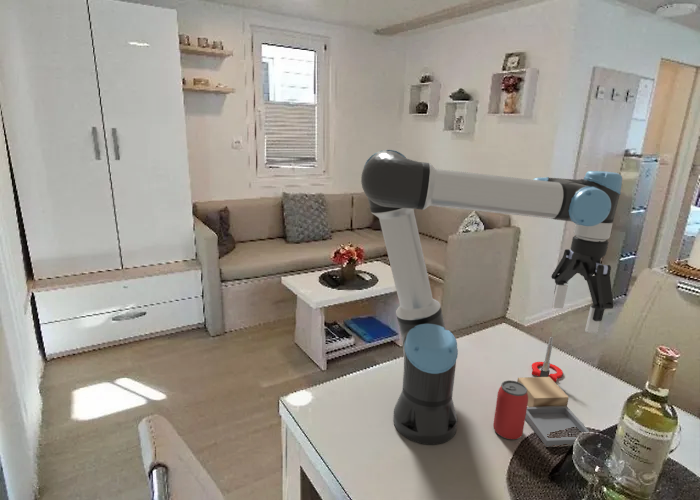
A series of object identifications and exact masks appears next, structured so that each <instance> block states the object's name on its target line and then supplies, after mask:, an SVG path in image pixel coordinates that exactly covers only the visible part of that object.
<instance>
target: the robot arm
mask: <svg viewBox="0 0 700 500" xmlns="http://www.w3.org/2000/svg"><path fill="white" fill-rule="evenodd" d="M360 178H361V181H360V182H361V188H362V190H363V193H364V194H365V196H366V197H367V201H368V204H369V205H368V206H369V209H370V214H372V215H374V216H375V217H377V218H378V219H379V224H380V229H381V232H382V236H383V241H384V244H385V248H386V253H387V257H388V260H389V261H388V262H389V264H390V265H389V266H390V269H391V274H392V278H393V282H394V285H395V290H396V291H395V292H396V293H397V298H398V302H399V306H398V307H397V309H396V310H395V316H396V319H397V323H398V327H399V328H398V329H399V331H400V336H401V343H402V351H403V352H402V353H403V375H402V376H403V377H402V391H401V393H400V395H399V397H398V399H397V401H396V404H395V406H394V408H393V417H392V421H393V424H394V426H395V429H396V430H397V431H398V433H400V434H401V435H402V436H403V437H405V438H406V439H408V440H410V441H412V442H415V443H418V444H421V445H440V444H443V443H447V442H448V441H450V440H451V439H452V438H454V437H455V435H456V432H457V427H458V415H457V412H456V407H455V405H454V400H453V392H454V383H455V376H456V367H457V359H458V354H459V350H458V342H457V338H456V337H455V336H454V334H453V333H452V331H450V330H449V329H446V325H445V324H446V323H445V320H444V317H443V316H444V315H443V311H442V305H441V303H440V301H439V300H437V299H435V298H433V292H432V289H431V283H430V279H429V275H428V274H429V273H428V270H427V266H426V261H425V256H424V251H423V248H422V247H423V246H422V242H421V239H420V233H419V229H418V228H419V227H418V224H417V219H416V216H415V214H416V213H415V210H421V211H425V209H427V208H428V207H430V206H431V207H438V208H439V207H440V208H448V209H458V210H468V211H476V212H485V213H494V214H504V215H514V216H524V217H530V218H531V217H533V218H541V219H551V220H556V221H565V222H571V223H574V224H575V225H574V228H573V234H574V236H572V239H571V245H570V248H569V249H568V248H567V249H564V250H563V251H564V252H563V255H562V256H561V257H562V258H561V259H560V261H559V262H558V264H557V266H556V267H555V268H554V271H553V272H552V274H551V276H550V277H551V279H552V280H554V283H555V286H554V287H555V289H554V296H553V301H552V306H551V308H553V309H564V305H565V302H566V301H565V300H566V296H567V291H568V284H569V281H570V280H571V279H572V278H574V276H576V275H577V274H579V275H581V276H582V277H583V278H584V279H583V280H585V281H586V283H587V286H588V290H589V293H590V297H591V300H592V305H590V307H589V311H588V316H587V320H586V325H585V328H584V329H585V330H584V332H586V333H598V331H599V328H600V324H601V322H602V321H603V318H604V313H605V310H606V309H607V310H609V309H610V310H611V309H613V308H614V301H613V300H614V298H613V290H612V289H613V288H612V282H611V271H612V270H611V269H612V266H611V265H610V264H602V261H601V260H602V258H604V257H605V256H606V255H607V250H608V246H609V240H608V239H610V237H611V233H612V227H613V224H614V221H615V220H614V219H615V215H616V212H617V207H618V204H619V199H620V196H621V195H622V193H621V190H622V185H623V176H622V175H621V174H620V173H618V172H613V171H603V170H602V171H601V170H588V171H587V172H586V173H585V175H584V177H583V179H582V178H581V179H575V178H574V179H573V178H562V177H561V178H559V177H557V178H556V177H549V176H546V177H535V178H533V179H531V178H520V177H511V176H503V175H494V174H484V173H478V172H477V173H476V172H466V171H458V170H450V169H442V168H441V169H440V168H435V167H434V166H433V165H432V163H431V162H423V161H418V160H417V161H416V160H413V159H410V158H407V157H406V156H405V155H404V154H402V153H401V152H399V151H397V150H394V149H393V150H392V149H385V150H384V149H383V150H380V151H377V152H375V153H373V154H372V155H371V156H370V157H369V158H367V160H366V161H365V164H364V166H363V169H362V172H361V177H360Z"/></svg>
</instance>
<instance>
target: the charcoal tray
mask: <svg viewBox="0 0 700 500" xmlns="http://www.w3.org/2000/svg"><path fill="white" fill-rule="evenodd" d="M525 422H526V423H527V424H528V426H529V428H530V429H531V430H532V431H533V433H534V434H535V433H536V434H537V435H538V436H539V438H540V439H541V440H542V442H543V443H544V444H545V445H546V446H552V445H563V444H570V445H572V444H573V442H574V441H575V439H576V437H561V438H548V437H547V436H549V435H547V434H550V432H555V431H559V430H565V429H566V428H571V427H577V428H578V429H579V430H580V431H581V432H589V431H590V430H589V428H588V427H586V425H584V423H583V422H582V421H581V420H580V419H579V418H578V417H577V416H576V415H575V413H573V412H572V410H571V409H570V408H569V407H568V405H567V406H546V407H528V406H527V410H526V416H525ZM536 434H535V435H536ZM537 435H536V436H537ZM539 438H538V439H539ZM542 442H541V443H542Z"/></svg>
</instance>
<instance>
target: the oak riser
mask: <svg viewBox="0 0 700 500" xmlns="http://www.w3.org/2000/svg"><path fill="white" fill-rule="evenodd" d="M516 380H517V381H516V382H519V383H521V384H523V385H524V386H525V387H526V388H527V394H528V404H527V407H546V406H567V407H568V402H569V398H570V397H569V395H567V393H566V392H565V391H564V390H563V389H562V388H561V387H560V386H559V385H558V384H557V382H554V381H553V380H552V379H551V378H550V377H539V376H535V377H533V376H532V377H517V379H516Z"/></svg>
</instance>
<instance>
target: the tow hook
mask: <svg viewBox="0 0 700 500" xmlns="http://www.w3.org/2000/svg"><path fill="white" fill-rule="evenodd" d="M553 339H554V337H553V336H550V337H549V341H548V343H547V348H546V353H545V356H544V358H545V359H544V360H543V361H535V362H533V363H532V364H531V370H532V371H531V375H533V376H535V377H550V378H551V379H552V380H553V381H554V382H555V383H557V381H558V379H561V378H562V377H563V373H564V372H563V370H562V369H561V368H560V367H559V366H557V365H555V364H552V363H550V360H551V354H552V349H553V341H554V340H553ZM538 367H541V369H539V368H538ZM550 369H551V370H554V371H555V372H556V373H551V371H550Z"/></svg>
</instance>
